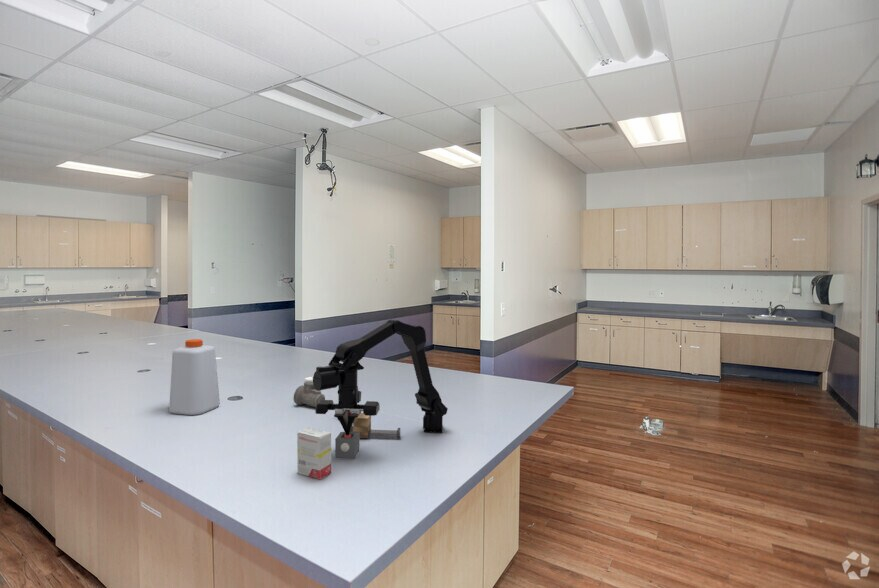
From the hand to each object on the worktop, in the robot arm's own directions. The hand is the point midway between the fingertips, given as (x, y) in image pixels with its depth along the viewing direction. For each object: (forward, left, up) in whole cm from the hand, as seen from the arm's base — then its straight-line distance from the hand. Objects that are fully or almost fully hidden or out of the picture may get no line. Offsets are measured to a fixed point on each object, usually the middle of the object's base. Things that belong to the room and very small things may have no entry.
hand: (347, 434), depth 138 cm
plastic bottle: (+72, -37, -6) cm, 81 cm away
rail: (-5, -15, -6) cm, 17 cm away
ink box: (+6, +13, -6) cm, 16 cm away
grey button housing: (0, 0, -6) cm, 6 cm away
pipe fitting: (+28, -46, -7) cm, 54 cm away
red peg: (0, 0, -4) cm, 4 cm away
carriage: (-1, -15, -6) cm, 16 cm away
